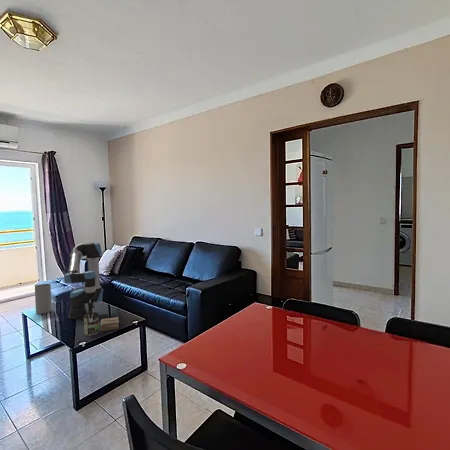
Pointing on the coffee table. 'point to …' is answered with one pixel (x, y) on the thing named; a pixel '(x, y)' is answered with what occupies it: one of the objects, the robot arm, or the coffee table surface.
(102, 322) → the beech block
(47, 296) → the cylinder vase
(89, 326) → the coffee can
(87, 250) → the robot arm
